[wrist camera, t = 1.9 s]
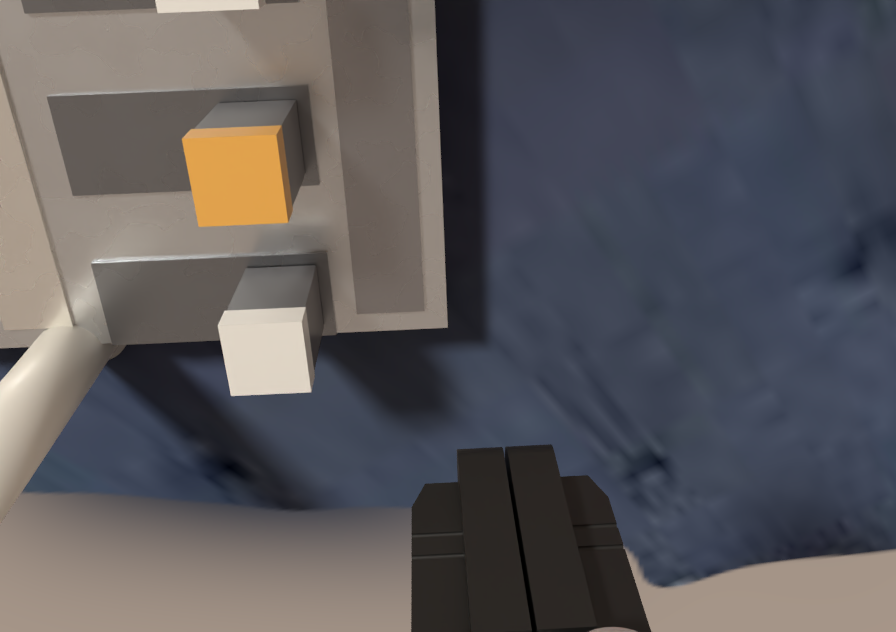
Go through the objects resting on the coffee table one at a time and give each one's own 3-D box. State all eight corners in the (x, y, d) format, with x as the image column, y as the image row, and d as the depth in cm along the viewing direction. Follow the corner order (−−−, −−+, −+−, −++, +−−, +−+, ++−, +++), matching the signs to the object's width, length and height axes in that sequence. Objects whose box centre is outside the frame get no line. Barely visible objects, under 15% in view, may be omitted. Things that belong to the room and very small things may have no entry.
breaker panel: (428, -126, 31) (429, -128, 28) (445, 297, 39) (448, 330, 36) (-210, -101, 30) (-274, -100, 28) (-54, 320, 39) (-91, 354, 36)
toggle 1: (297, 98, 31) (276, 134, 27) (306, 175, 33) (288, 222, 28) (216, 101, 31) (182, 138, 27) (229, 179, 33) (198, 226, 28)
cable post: (123, 286, 38) (-17, 476, 26) (140, 351, 40) (15, 559, 28) (47, 289, 38) (-130, 481, 26) (67, 355, 40) (-91, 564, 28)
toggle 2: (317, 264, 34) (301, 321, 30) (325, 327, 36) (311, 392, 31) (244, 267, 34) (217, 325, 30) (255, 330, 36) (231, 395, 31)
